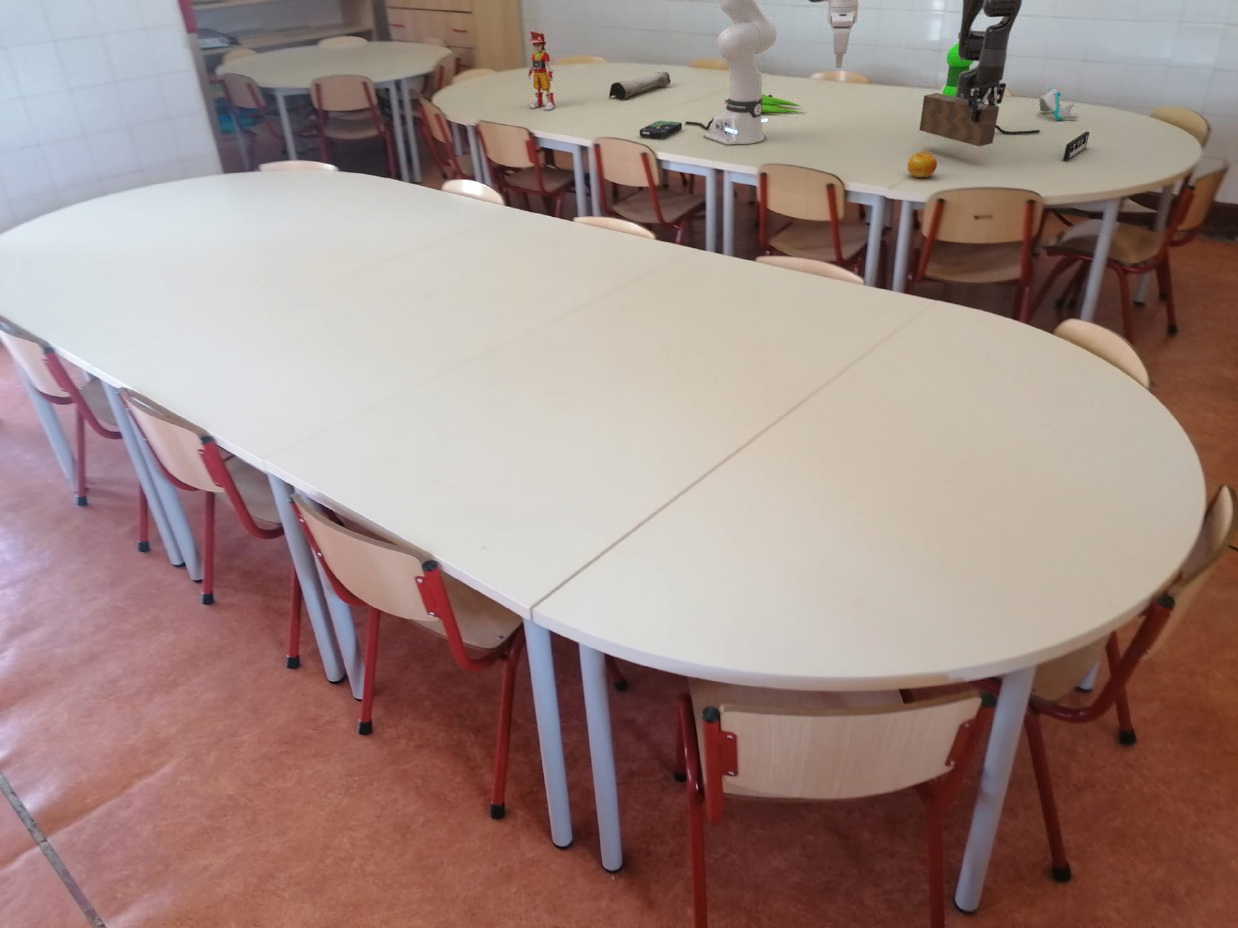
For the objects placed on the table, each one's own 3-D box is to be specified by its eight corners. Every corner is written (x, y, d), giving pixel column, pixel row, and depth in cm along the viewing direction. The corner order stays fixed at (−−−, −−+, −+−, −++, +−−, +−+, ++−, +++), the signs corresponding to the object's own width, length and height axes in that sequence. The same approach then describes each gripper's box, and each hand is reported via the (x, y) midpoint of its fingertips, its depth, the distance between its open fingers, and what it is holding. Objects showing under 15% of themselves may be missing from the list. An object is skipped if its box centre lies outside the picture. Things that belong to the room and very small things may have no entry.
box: (992, 143, 286) (999, 106, 279) (979, 146, 283) (986, 110, 277) (932, 127, 304) (937, 92, 298) (919, 130, 302) (924, 95, 295)
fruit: (901, 167, 279) (918, 144, 275) (903, 170, 286) (919, 147, 283) (924, 183, 277) (941, 160, 274) (925, 185, 285) (941, 162, 282)
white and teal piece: (1033, 88, 332) (1060, 81, 331) (1032, 116, 338) (1059, 109, 337) (1052, 98, 319) (1080, 90, 318) (1051, 127, 325) (1079, 119, 324)
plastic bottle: (973, 101, 354) (984, 32, 339) (955, 106, 349) (966, 36, 335) (952, 97, 361) (962, 29, 346) (934, 102, 356) (944, 33, 342)
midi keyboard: (1067, 160, 287) (1070, 145, 284) (1062, 160, 288) (1066, 144, 285) (1086, 147, 297) (1090, 132, 294) (1082, 147, 298) (1085, 131, 295)
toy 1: (525, 109, 381) (517, 32, 364) (534, 104, 388) (527, 28, 371) (550, 110, 377) (543, 32, 360) (559, 105, 384) (553, 28, 367)
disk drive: (663, 140, 332) (682, 129, 342) (663, 132, 330) (682, 122, 340) (639, 137, 336) (658, 127, 346) (638, 130, 335) (658, 119, 345)
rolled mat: (651, 76, 408) (662, 61, 399) (662, 93, 408) (674, 79, 400) (605, 92, 391) (616, 77, 383) (617, 110, 391) (628, 95, 383)
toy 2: (719, 111, 356) (789, 123, 343) (720, 98, 353) (791, 109, 341) (748, 101, 376) (815, 112, 364) (750, 88, 374) (817, 99, 361)
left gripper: (832, 11, 284) (828, 58, 291) (831, 22, 267) (827, 71, 275) (852, 10, 282) (848, 57, 290) (853, 21, 266) (849, 71, 274)
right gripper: (985, 68, 268) (975, 127, 277) (1018, 62, 273) (1007, 119, 283) (965, 65, 273) (956, 122, 283) (998, 58, 279) (988, 114, 288)
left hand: (838, 64), depth 283 cm, fingers open, 8 cm apart
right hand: (982, 120), depth 283 cm, fingers closed on box, 6 cm apart
